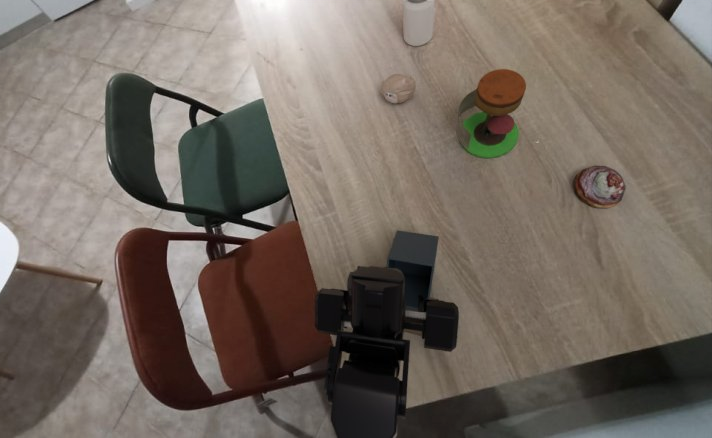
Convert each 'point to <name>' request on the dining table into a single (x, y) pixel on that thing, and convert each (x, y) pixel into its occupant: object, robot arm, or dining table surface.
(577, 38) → the dining table surface
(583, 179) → the pastry
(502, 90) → the toy burger
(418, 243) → the bin
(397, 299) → the robot arm
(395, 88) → the beige rounded lump
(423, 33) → the can
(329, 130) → the dining table surface
